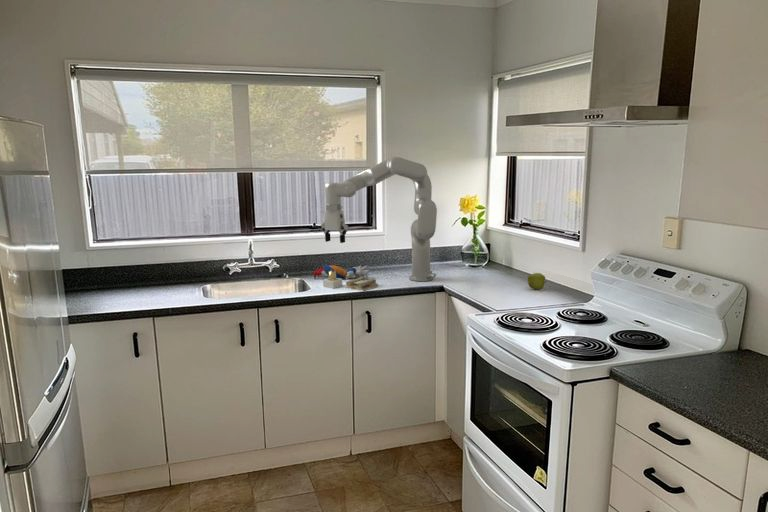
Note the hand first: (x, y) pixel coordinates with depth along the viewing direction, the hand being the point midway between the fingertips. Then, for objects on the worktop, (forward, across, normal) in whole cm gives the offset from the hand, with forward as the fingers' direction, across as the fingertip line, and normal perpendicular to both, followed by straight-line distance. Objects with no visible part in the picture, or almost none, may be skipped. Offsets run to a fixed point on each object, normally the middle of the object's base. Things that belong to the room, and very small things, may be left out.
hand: (335, 241), depth 283 cm
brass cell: (+21, -1, +4) cm, 22 cm away
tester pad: (+20, -14, -2) cm, 24 cm away
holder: (+22, -1, +4) cm, 22 cm away
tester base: (+22, -14, -2) cm, 26 cm away
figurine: (+22, +7, -12) cm, 26 cm away
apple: (+24, -88, -44) cm, 101 cm away
